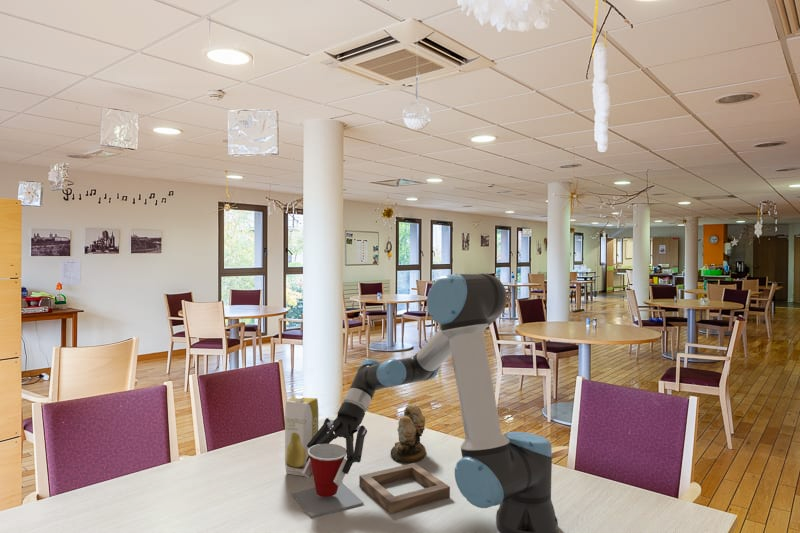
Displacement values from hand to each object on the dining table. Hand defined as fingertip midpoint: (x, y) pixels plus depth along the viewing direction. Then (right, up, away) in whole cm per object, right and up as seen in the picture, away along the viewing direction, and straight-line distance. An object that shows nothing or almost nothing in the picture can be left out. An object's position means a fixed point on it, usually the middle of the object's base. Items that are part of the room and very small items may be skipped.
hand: (320, 479), depth 143 cm
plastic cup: (+2, -5, +3) cm, 6 cm away
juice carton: (-9, -6, +21) cm, 24 cm away
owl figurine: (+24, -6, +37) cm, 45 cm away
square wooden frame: (+23, -7, +8) cm, 25 cm away
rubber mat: (+1, -7, +3) cm, 7 cm away
